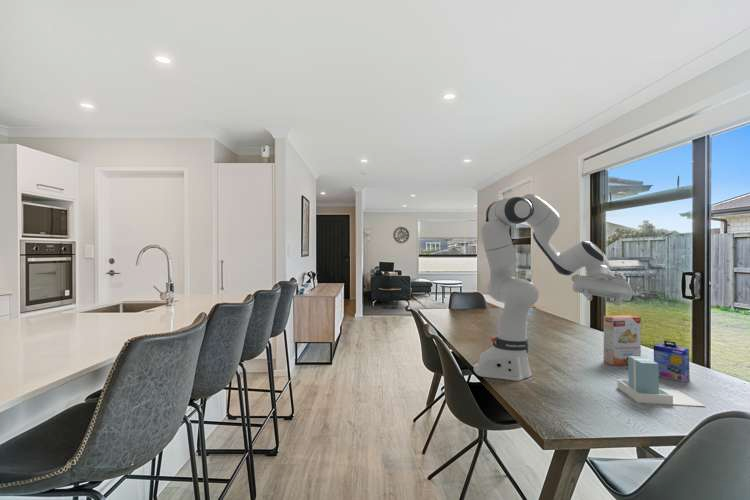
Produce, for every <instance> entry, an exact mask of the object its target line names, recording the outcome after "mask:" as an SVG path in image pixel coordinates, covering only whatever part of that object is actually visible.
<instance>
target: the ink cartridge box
mask: <svg viewBox="0 0 750 500" xmlns="http://www.w3.org/2000/svg"><path fill="white" fill-rule="evenodd" d="M653 361H654V362H656V363H658V367H659V378H660V377H661V378H666V379H668V380H669V379H670V380H674V381H677V382H681V383H686V382H689V381H690V380H691V378H690V376H691V375H690V349H689V347H688V348H687V347H684V346H683V347H682V346H677V343H676V341H669V340H664V339H663V343H659V342H658V343H655V344H653Z"/></svg>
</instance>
